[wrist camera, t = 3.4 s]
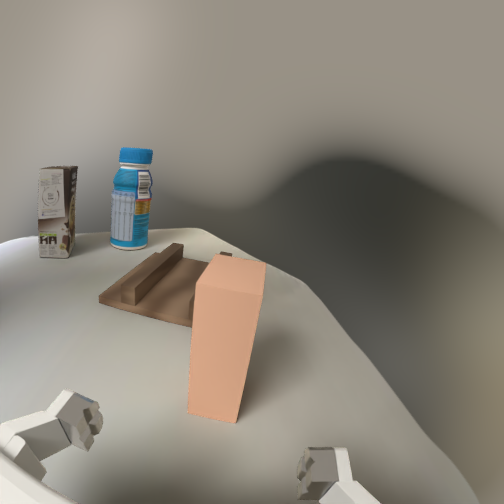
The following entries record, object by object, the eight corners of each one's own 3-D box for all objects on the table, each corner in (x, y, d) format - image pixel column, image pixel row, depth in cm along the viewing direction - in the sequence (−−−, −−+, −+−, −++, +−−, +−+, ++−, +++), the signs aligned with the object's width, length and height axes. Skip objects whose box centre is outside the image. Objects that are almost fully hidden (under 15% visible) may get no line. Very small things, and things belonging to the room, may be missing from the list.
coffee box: (69, 258, 44) (71, 167, 39) (38, 258, 41) (38, 168, 36) (76, 243, 51) (79, 165, 47) (49, 242, 49) (50, 165, 44)
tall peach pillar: (187, 413, 20) (196, 282, 17) (203, 369, 26) (216, 253, 22) (235, 423, 20) (262, 295, 17) (243, 377, 26) (266, 262, 22)
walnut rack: (99, 302, 33) (97, 278, 32) (155, 257, 52) (156, 239, 51) (233, 335, 33) (237, 310, 32) (248, 275, 52) (251, 257, 51)
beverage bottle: (107, 250, 51) (114, 146, 45) (111, 238, 58) (118, 147, 53) (148, 252, 54) (158, 149, 49) (147, 239, 62) (156, 150, 56)
